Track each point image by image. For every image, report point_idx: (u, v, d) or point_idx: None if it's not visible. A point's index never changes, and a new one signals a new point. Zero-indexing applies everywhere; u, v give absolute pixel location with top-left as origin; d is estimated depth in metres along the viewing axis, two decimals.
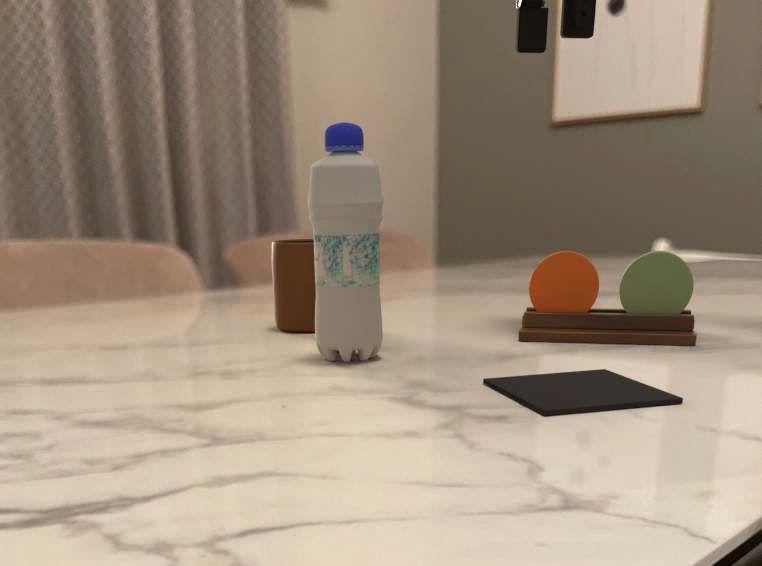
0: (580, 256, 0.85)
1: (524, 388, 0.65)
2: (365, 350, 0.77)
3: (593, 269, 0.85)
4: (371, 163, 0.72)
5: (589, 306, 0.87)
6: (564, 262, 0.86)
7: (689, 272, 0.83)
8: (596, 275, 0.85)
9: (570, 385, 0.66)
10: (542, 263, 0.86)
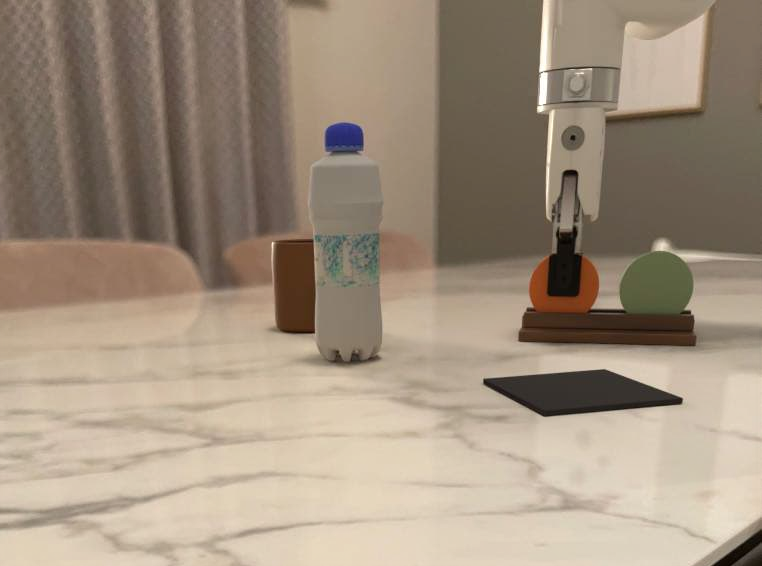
0: None
1: (524, 388, 0.65)
2: (365, 350, 0.77)
3: (593, 269, 0.85)
4: (371, 163, 0.72)
5: (589, 306, 0.87)
6: None
7: (689, 272, 0.83)
8: (596, 275, 0.85)
9: (570, 385, 0.66)
10: (542, 263, 0.86)
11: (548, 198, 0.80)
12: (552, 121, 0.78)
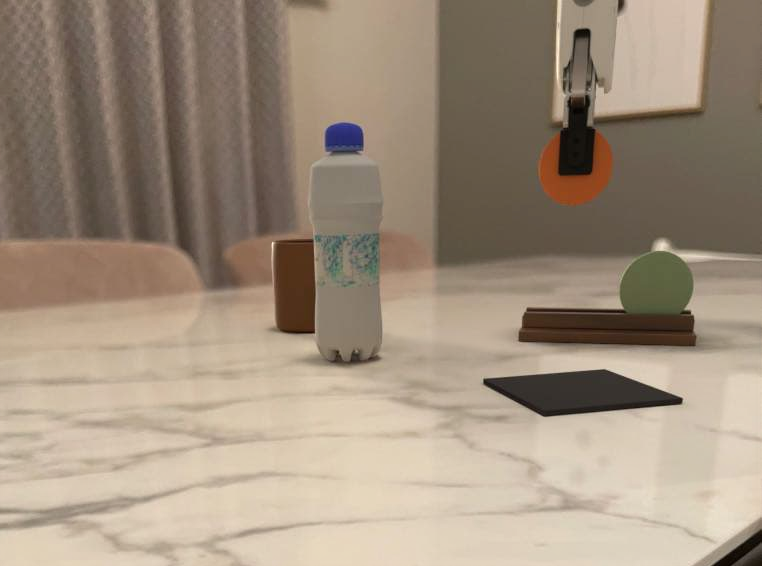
0: None
1: (524, 388, 0.65)
2: (365, 350, 0.77)
3: (607, 144, 0.81)
4: (371, 163, 0.72)
5: (602, 185, 0.82)
6: None
7: (689, 272, 0.83)
8: (610, 151, 0.81)
9: (570, 385, 0.66)
10: (552, 140, 0.82)
11: (559, 61, 0.76)
12: None
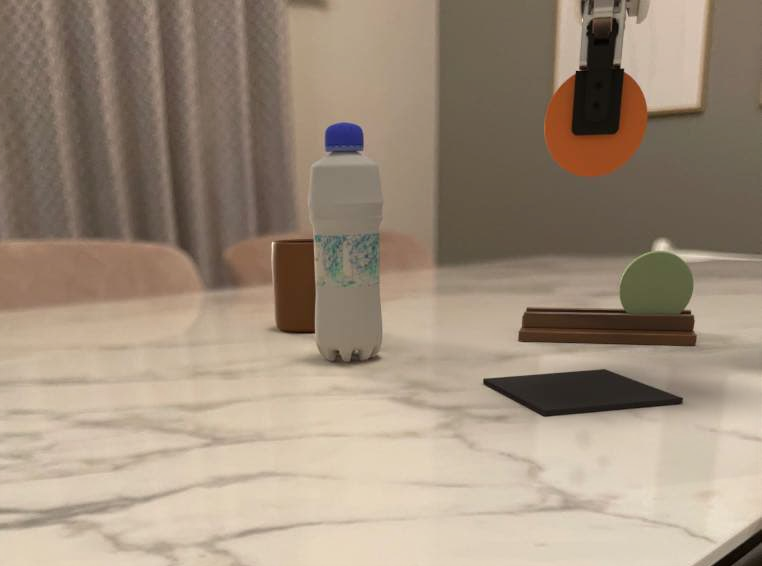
0: None
1: (524, 388, 0.65)
2: (365, 350, 0.77)
3: (639, 91, 0.58)
4: (371, 163, 0.72)
5: (632, 149, 0.59)
6: None
7: (689, 272, 0.83)
8: (643, 101, 0.58)
9: (570, 385, 0.66)
10: (564, 86, 0.59)
11: None
12: None
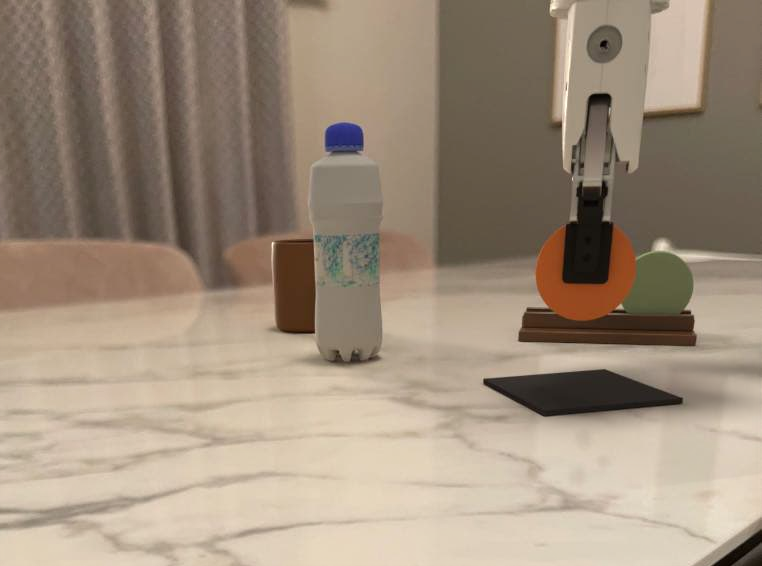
0: None
1: (524, 388, 0.65)
2: (365, 350, 0.77)
3: (628, 244, 0.59)
4: (371, 163, 0.72)
5: (621, 297, 0.61)
6: None
7: (689, 272, 0.83)
8: (632, 253, 0.59)
9: (570, 385, 0.66)
10: (555, 236, 0.60)
11: (566, 137, 0.54)
12: (573, 20, 0.53)
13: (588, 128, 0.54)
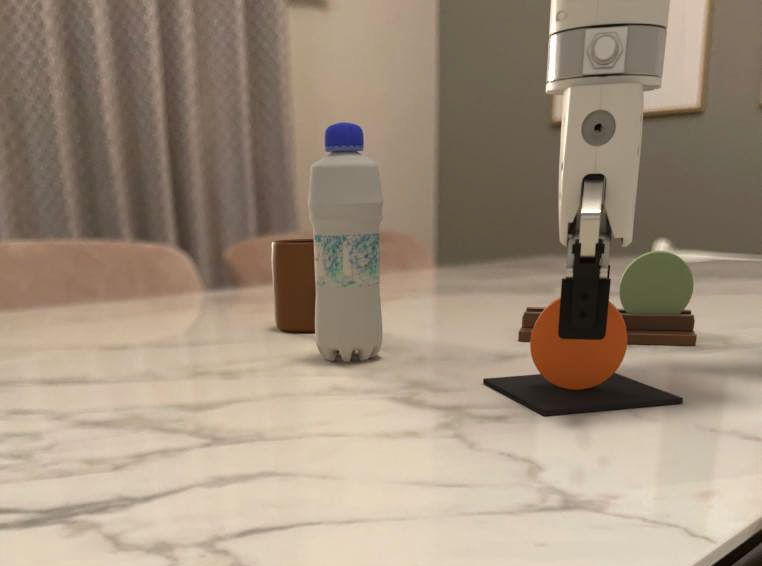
0: None
1: (524, 388, 0.65)
2: (365, 350, 0.77)
3: (619, 318, 0.61)
4: (371, 163, 0.72)
5: (614, 367, 0.63)
6: None
7: (689, 272, 0.83)
8: (623, 326, 0.61)
9: None
10: (547, 311, 0.62)
11: (562, 214, 0.56)
12: (568, 104, 0.54)
13: None
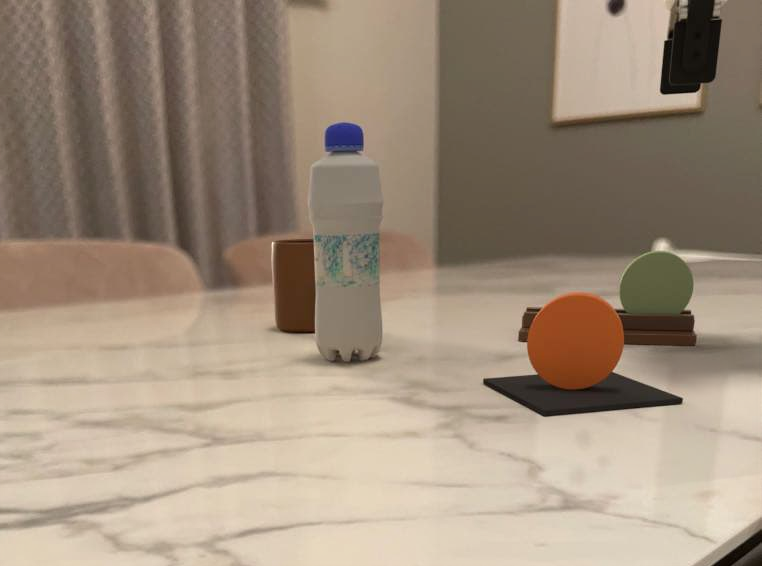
0: (594, 299, 0.61)
1: (524, 388, 0.65)
2: (365, 350, 0.77)
3: (614, 315, 0.61)
4: (371, 163, 0.72)
5: (612, 364, 0.63)
6: (572, 309, 0.62)
7: (689, 272, 0.83)
8: (619, 323, 0.62)
9: None
10: (542, 313, 0.63)
11: None
12: None
13: None
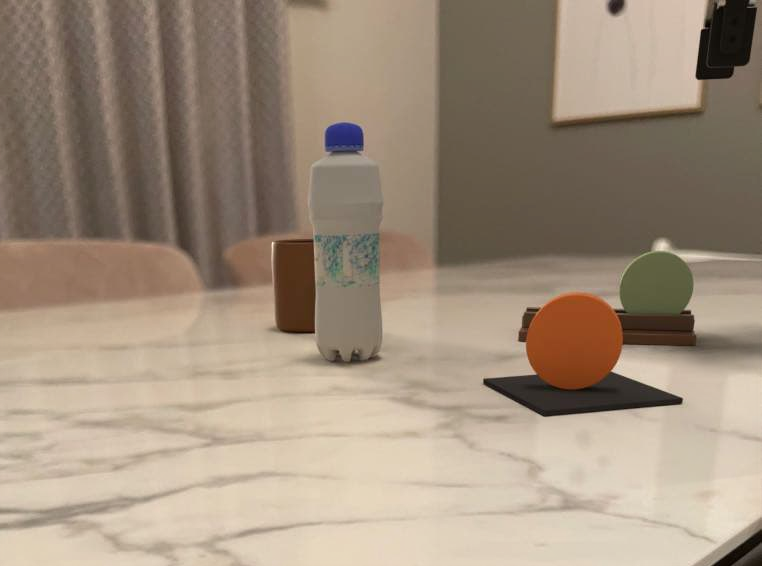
0: (591, 299, 0.61)
1: (524, 388, 0.65)
2: (365, 350, 0.77)
3: (612, 314, 0.61)
4: (371, 163, 0.72)
5: (611, 363, 0.63)
6: (570, 309, 0.62)
7: (689, 272, 0.83)
8: (617, 322, 0.62)
9: None
10: (540, 314, 0.63)
11: None
12: None
13: None
